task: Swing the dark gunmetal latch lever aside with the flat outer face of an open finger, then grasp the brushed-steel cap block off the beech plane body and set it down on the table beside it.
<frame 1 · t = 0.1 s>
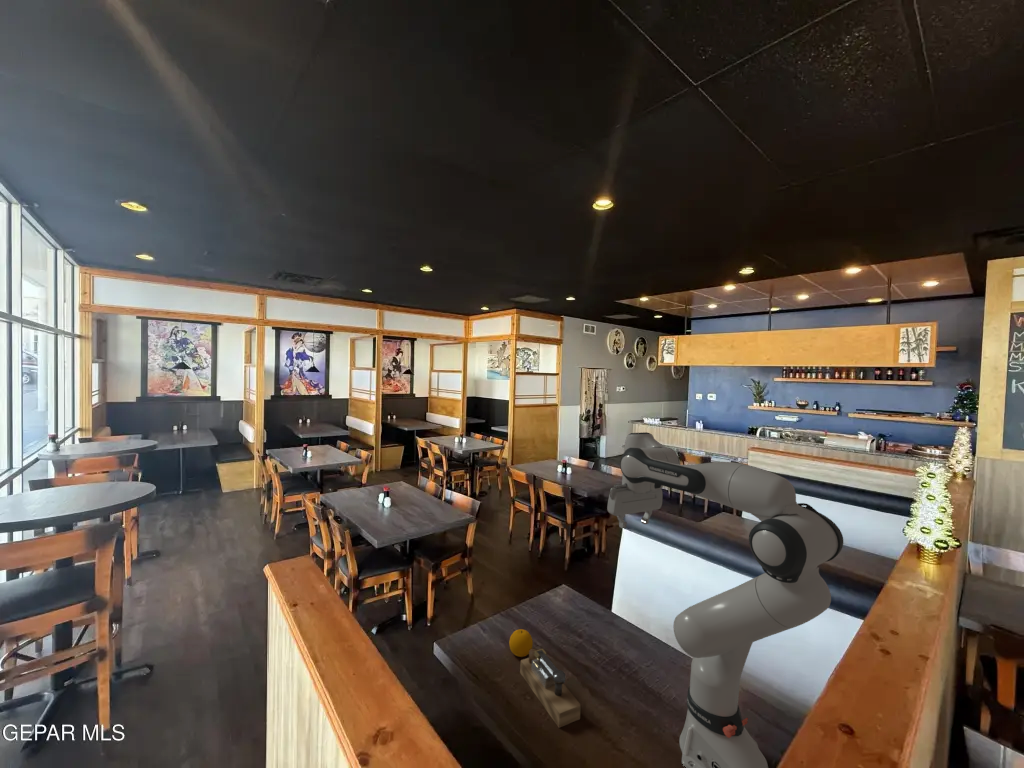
hand: (633, 525, 131), 48 cm above the table, fingers open, 8 cm apart
lever: (549, 665, 121), point 9 cm above the table, hinge at 0.0°
plane body: (548, 694, 122), on the table
lever cap: (545, 676, 123), point 4 cm above the table, touching plane body
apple: (520, 653, 139), on the table
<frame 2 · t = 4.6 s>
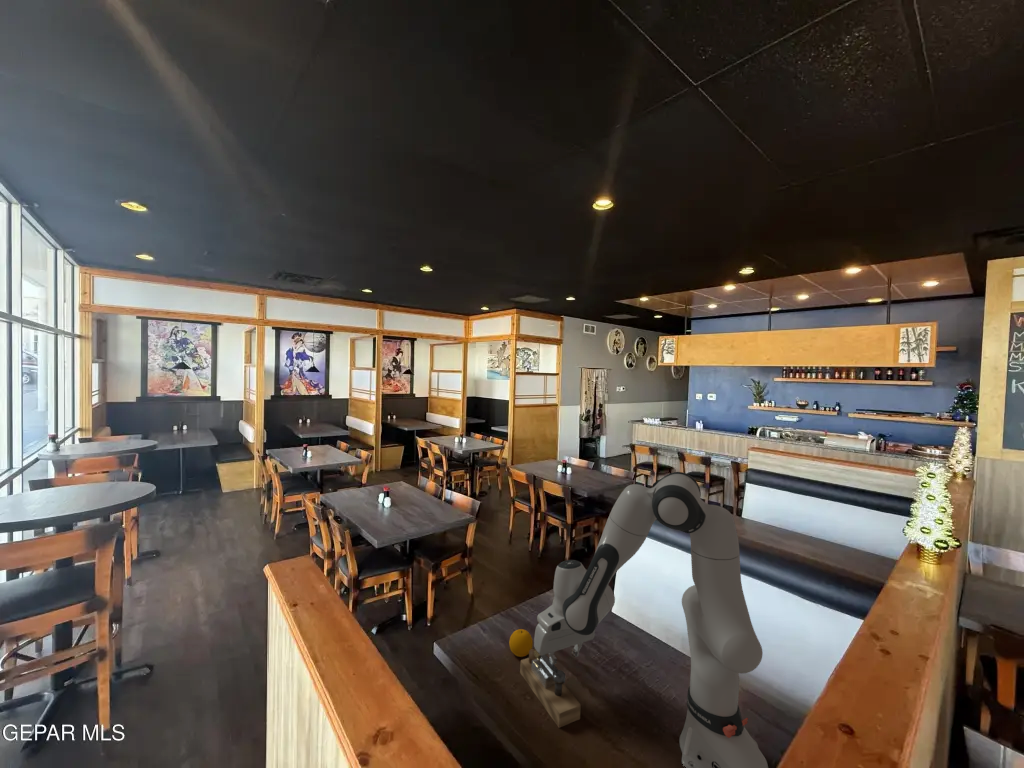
hand: (564, 659, 125), 9 cm above the table, fingers open, 7 cm apart
lever: (549, 665, 121), point 9 cm above the table, hinge at 0.0°, touching gripper
everything else where it was.
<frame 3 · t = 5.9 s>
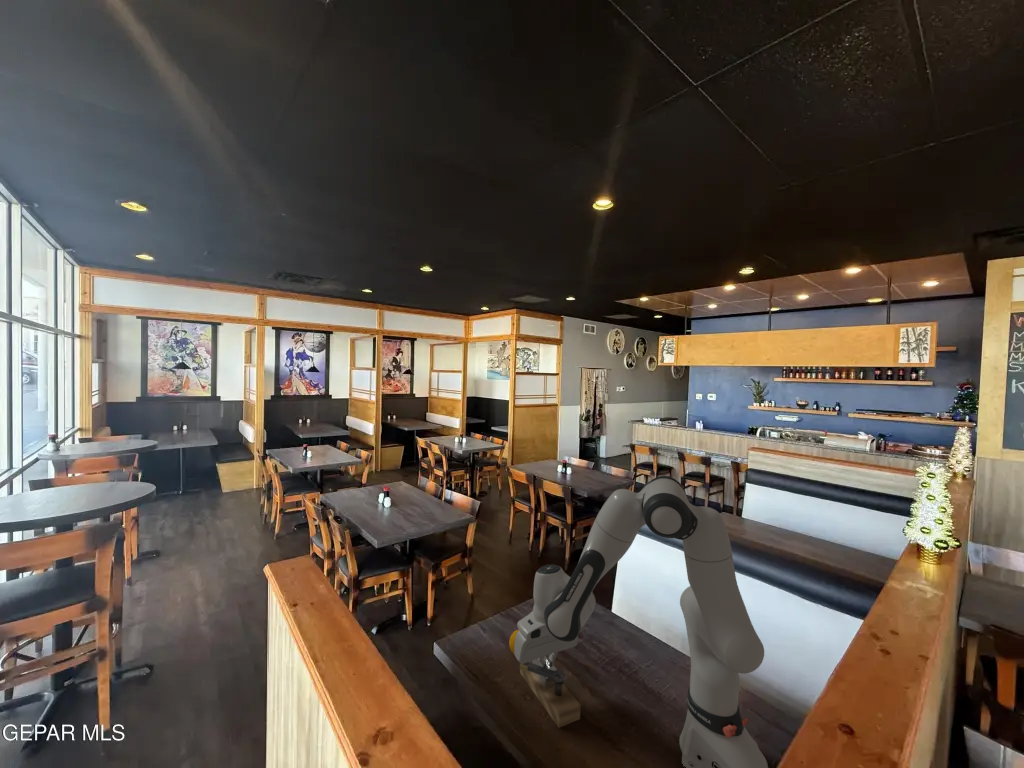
hand: (546, 667, 122), 8 cm above the table, fingers closed
lever: (542, 671, 119), point 9 cm above the table, hinge at 39.6°, touching gripper
everything else where it was.
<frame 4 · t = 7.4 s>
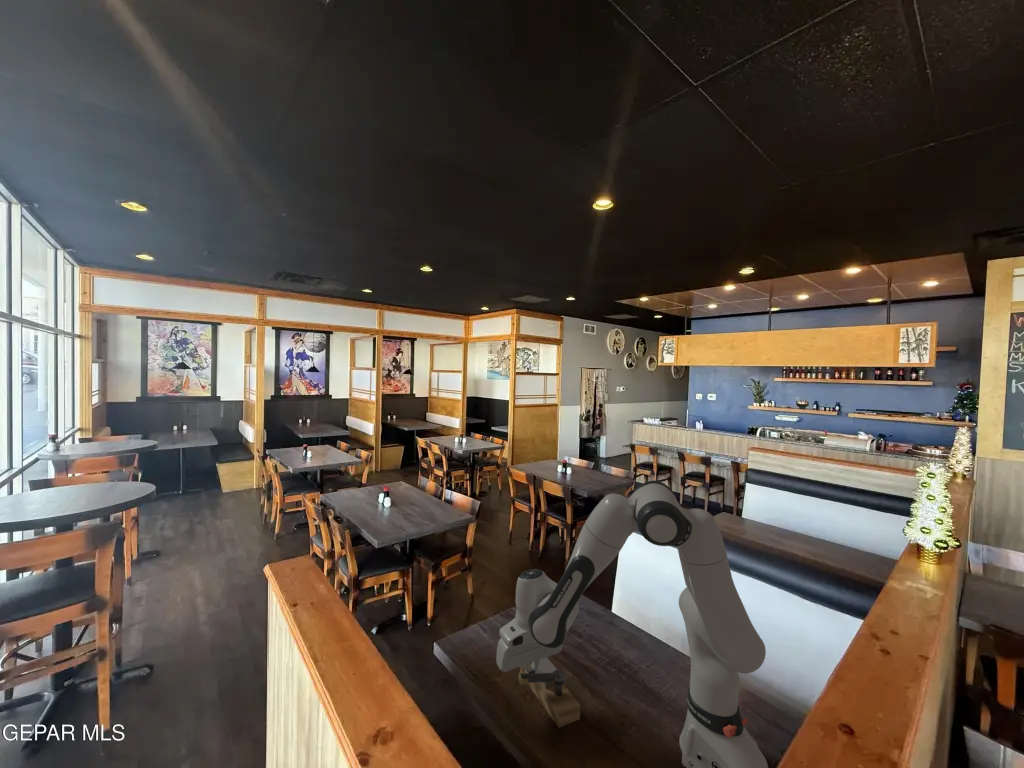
hand: (530, 674, 118), 8 cm above the table, fingers closed
lever: (542, 677, 116), point 9 cm above the table, hinge at 69.1°, touching gripper
everything else where it was.
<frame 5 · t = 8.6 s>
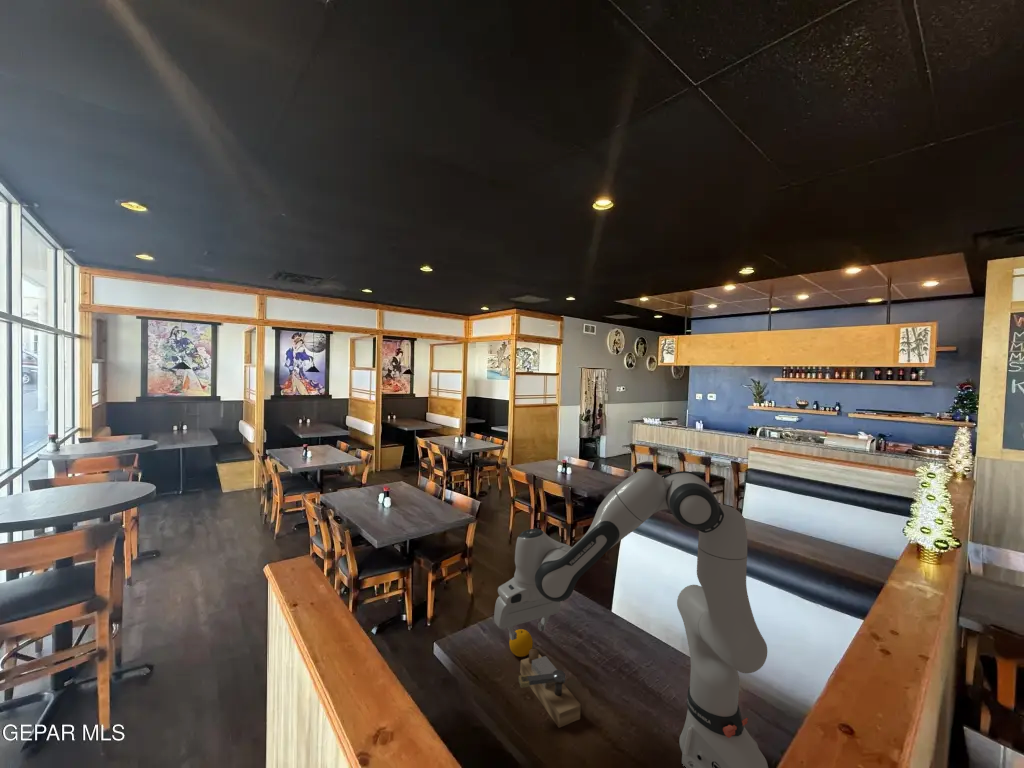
hand: (527, 633, 118), 20 cm above the table, fingers open, 8 cm apart
lever: (542, 678, 116), point 9 cm above the table, hinge at 74.8°
everything else where it was.
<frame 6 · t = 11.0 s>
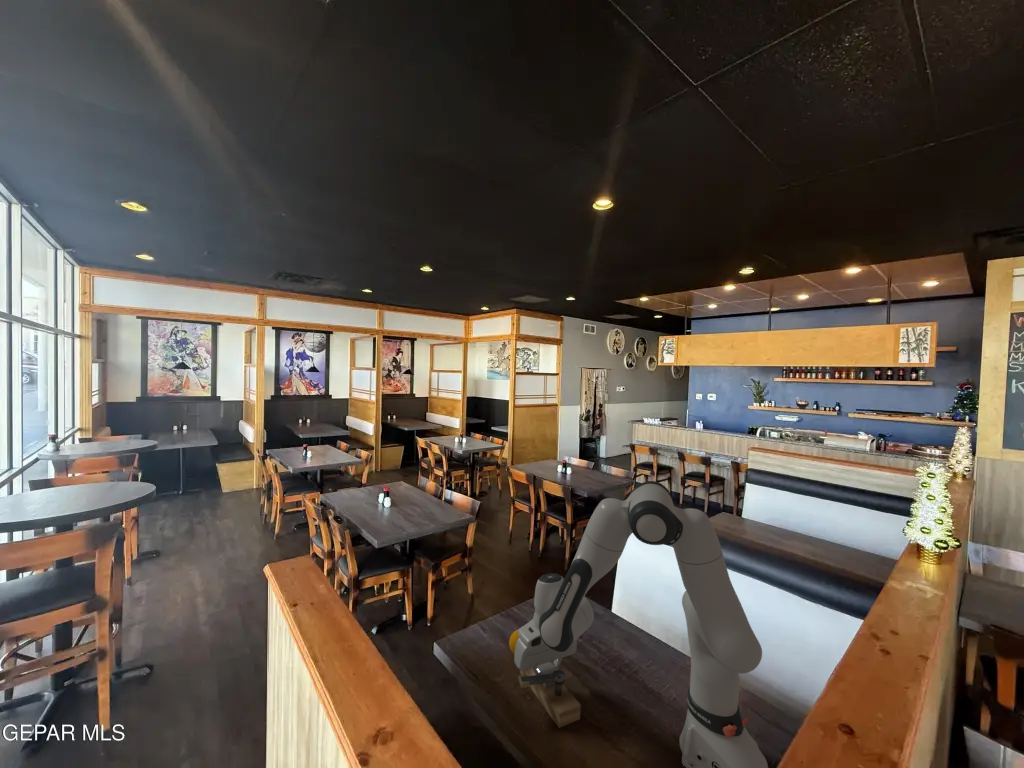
hand: (545, 673, 123), 5 cm above the table, fingers closed on lever cap, 5 cm apart
lever cap: (545, 676, 123), point 4 cm above the table, touching gripper, plane body
everything else where it was.
when the fingers open (3 cm above the table, at t = 17.3 s): lever cap drops 2 cm, on the table.
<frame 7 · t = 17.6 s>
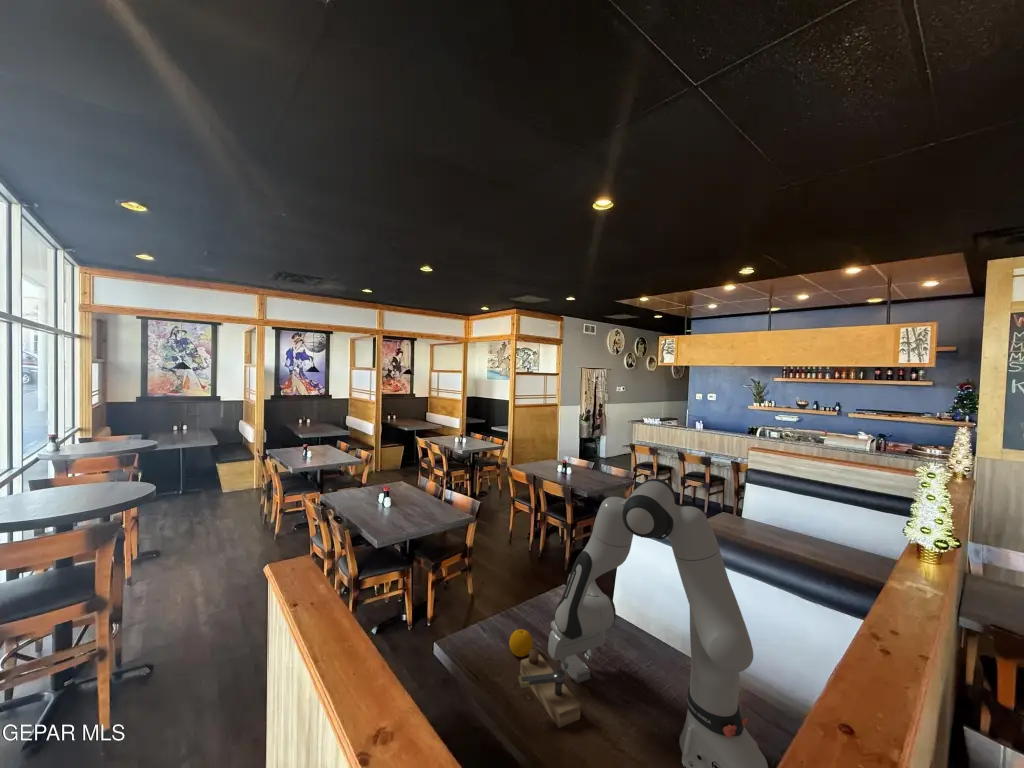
hand: (576, 664, 131), 3 cm above the table, fingers open, 8 cm apart
lever cap: (575, 673, 131), on the table
everything else where it was.
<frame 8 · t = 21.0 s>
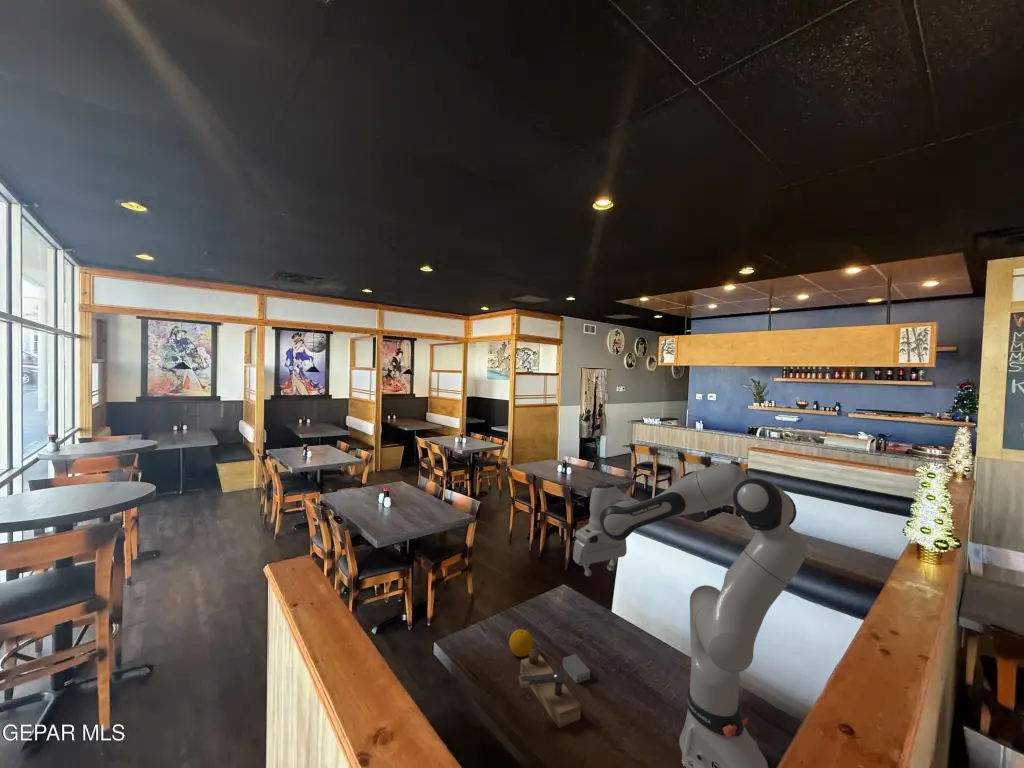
hand: (599, 572, 137), 29 cm above the table, fingers open, 8 cm apart
nothing on the table moved.
at the end: lever at +75° (first picture: +0°); lever cap inside the target area (0.0 cm from its centre), on the table; lever cap tilted 0° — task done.
